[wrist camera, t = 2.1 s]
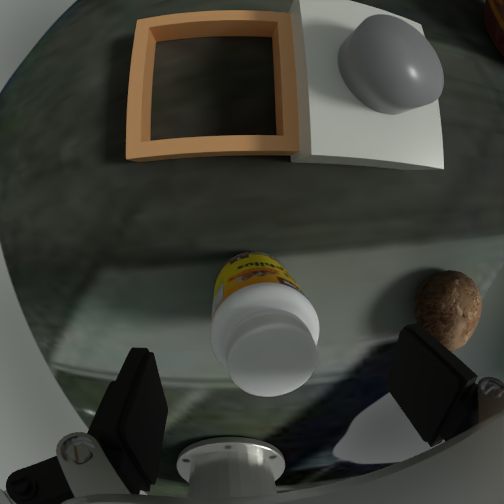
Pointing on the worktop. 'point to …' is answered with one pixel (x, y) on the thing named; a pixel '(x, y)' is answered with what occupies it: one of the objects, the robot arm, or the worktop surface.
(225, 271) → the supplement bottle
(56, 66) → the worktop surface
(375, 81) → the open box with knob
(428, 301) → the mushroom
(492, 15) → the jug
